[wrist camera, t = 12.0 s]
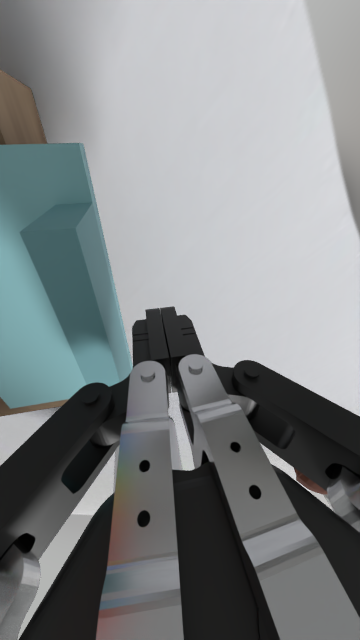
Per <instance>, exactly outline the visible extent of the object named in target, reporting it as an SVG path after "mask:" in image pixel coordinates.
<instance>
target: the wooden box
mask: <svg viewBox="0 0 360 640" xmlns="http://www.w3.org/2000/svg"><path fill="white" fill-rule="evenodd" d="M13 144H47V141H46V138H45V135H44V131H43V128H42V124H41V121H40V118H39V114H38V111H37V108H36V104H35V101H34V98H33V94H32V91H31V89H30V88H29V87H27V86H26V85H24V84H22V83H21V82H19V81H18V80H16V79H14V78H13V77H11V76H10V75H8V74H6V73H5V72H3V71H2V70H0V145H13ZM68 400H69V399H66V400H60V401H54V402H48V403H42V404H36V405H30V406H24V407H18V408H12V409H10V408H9V406H8V405H7V404H6V403H5V402H4V401H3V399H2V398H1V397H0V416H6V415H12V414H18V413H23V412H29V411H35V410H41V409H47V408H53V407H59V406H63V405H64V404H65V403H66V402H67V401H68Z"/></svg>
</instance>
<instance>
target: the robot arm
mask: <svg viewBox="0 0 360 640" xmlns="http://www.w3.org/2000/svg"><path fill="white" fill-rule="evenodd" d="M160 313H161V314H160ZM132 335H133V336H132V337H133V369H132V371H131V373H130V374H129V376H128V377H127V378H125V379H124V380H123V381H121V382H119V383H117V384H114V385H112V386H110V387H108V385H106V384H104V383H100V382H95V383H90V384H87V385H85V386H83V387H82V388H80V389H79V390H78V391H77V392H76V393H75V394H74V395H73V396H72V397H71V398H70V399H69V400H68V401H67V402H66V403H65V404H64V405H63V406H62V407H61V408H60V409H58V410H57V411H56V412H55V413H54V414H53V415H52V416H51V417H50V418H49V419H48V420H47V421H46V422H45V423H44V424H43V425H42V426H41V427H40V428H39V429H38V430H37V431H36V432H35V433H34V434H33V435H32V436H31V437H30V438H29V439H28V440H27V441H26V442H25V443H24V444H23V445H21V446H20V447H19V448H18V449H17V450H16V451H15V452H14V453H13V454H12V455H11V456H10V457H9V458H8V459H7V460H6V461H5V462H4V463H3V464H2V465H1V466H0V640H17V638H18V634H19V631H20V628H21V624H22V622H23V620H24V618H25V615H26V613H27V612H28V610H29V608H30V606H31V604H32V602H33V600H34V598H35V596H36V593H37V590H38V587H39V581H40V575H41V571H40V564H39V561H38V560H39V559H40V557H41V556H42V554H43V553H44V552H45V550H46V549H47V547H48V546H49V544H50V543H51V541H52V540H53V539H54V537H55V536H56V534H57V533H58V532H59V530H60V529H61V527H62V526H63V524H64V523H65V522H66V520H67V519H68V517H69V516H70V514H71V513H72V512H73V510H74V509H75V507H76V506H77V504H78V503H79V502H80V500H81V499H82V497H83V496H84V494H85V493H86V492H87V490H88V489H89V487H90V486H91V484H92V483H93V482H94V480H95V479H96V477H97V476H98V475H99V473H100V472H101V470H102V469H103V467H104V466H105V465H106V463H107V462H108V460H109V459H110V457H111V456H112V455H113V453H114V452H115V466H114V489H113V494H112V495H111V496H110V497H109V498H108V499H107V500H106V501H105V502H104V503H103V504H102V505H101V506H100V508H99V509H98V510H97V512H96V513H95V514H94V516H93V517H92V519H91V521H90V522H89V524H88V525H87V527H86V529H85V530H84V532H83V534H82V535H81V537H80V539H79V540H78V542H77V544H76V546H75V547H74V549H73V550H72V552H71V554H70V555H69V557H68V559H67V560H66V562H65V564H64V566H63V567H62V569H61V570H60V572H59V574H58V575H57V577H56V579H55V580H54V582H53V584H52V585H51V587H50V589H49V590H48V592H47V594H46V595H45V597H44V599H43V600H42V602H41V603H40V605H39V607H38V608H37V610H36V612H35V613H34V615H33V617H32V619H31V620H30V622H29V624H28V625H27V627H26V629H25V630H24V632H23V633H22V635H21V637H20V638H19V640H360V417H359V416H357V415H356V414H354V413H352V412H350V411H348V410H346V409H344V408H342V407H341V406H339V405H337V404H335V403H333V402H331V401H329V400H327V399H325V398H324V397H322V396H320V395H318V394H316V393H314V392H312V391H310V390H309V389H307V388H305V387H303V386H301V385H299V384H297V383H295V382H293V381H292V380H290V379H288V378H286V377H284V376H282V375H280V374H278V373H277V372H275V371H273V370H271V369H269V368H267V367H265V366H263V365H261V364H260V363H257V362H255V361H251V360H244V361H240V362H238V363H237V364H236V365H235V366H234V368H230V367H222V366H218V365H215V364H213V363H211V361H210V360H209V359H208V358H206V357H205V356H204V353H203V351H202V348H201V345H200V342H199V340H198V337H197V334H196V332H195V329H194V326H193V324H192V321H191V320H190V319H189V318H188V317H187V316H186V315H179V316H177V314H176V311H175V307H165V308H160V309H159V308H157V309H148V310H146V319H145V320H137V321H136V322H135V324H134V325H133V327H132ZM171 387H172V392H178V396H179V407H180V411H181V414H182V418H183V421H184V425H185V428H186V432H187V435H188V439H189V442H190V446H191V450H192V455H193V462H194V466H195V469H194V470H191V471H185V470H182V464H181V458H180V452H179V445H178V439H177V434H176V428H175V423H174V421H173V420H172V419H170V418H169V416H168V408H169V395H168V393H171ZM260 443H261V444H262V445H264V446H265V447H267V448H268V449H269V450H271V451H272V452H273V453H275V454H276V455H277V456H279V457H280V458H282V459H283V460H284V461H286V462H287V463H288V464H290V465H291V466H293V467H294V468H295V469H297V470H298V471H299V472H301V473H302V474H303V475H305V476H306V477H308V478H309V479H310V480H312V481H313V482H314V483H316V484H317V485H319V486H320V487H321V488H323V489H324V490H325V491H327V493H328V497H329V500H330V502H331V505H332V509H333V510H334V511H332V510H331V509H330V508H329V507H327V506H326V505H325V504H324V503H322V502H321V501H320V500H319V499H317V498H316V497H315V496H314V495H312V494H311V493H310V492H309V491H307V490H306V489H305V488H304V487H302V486H301V485H300V484H299V483H297V482H296V481H295V480H294V479H292V478H291V477H290V476H289V475H287V474H286V473H285V472H283V471H282V470H280V469H279V468H277V467H276V466H274V465H272V464H271V463H270V461H269V460H268V458H267V456H266V454H265V452H264V450H263V448H262V446H261V444H260Z"/></svg>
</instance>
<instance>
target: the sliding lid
mask: <svg viewBox="0 0 360 640" xmlns="http://www.w3.org/2000/svg"><path fill="white" fill-rule="evenodd" d="M132 369H133V366H132V361H131V357H130V352H129V348H128V343H127V339H126V334H125V330H124V325H123V321H122V316H121V312H120V307H119V303H118V298H117V294H116V289H115V285H114V280H113V276H112V271H111V267H110V262H109V258H108V253H107V249H106V244H105V240H104V235H103V231H102V226H101V222H100V217H99V213H98V208H97V204H96V199H95V195H94V190H93V186H92V181H91V177H90V172H89V168H88V163H87V159H86V154H85V150H84V145H83V144H82V143H59V144H13V145H0V397H1V398H2V399H3V401H4V402H5V403H6V404H7V405H8V406H9V408H10V409H12V408H18V407H24V406H30V405H36V404H42V403H48V402H54V401H60V400H66V399H70V398H71V397H72V396H73V395H74V394H75V393H76V392H77V391H78V390H79V389H80V388H82V387H83V386H85V385H87V384H90V383H95V382H100V383H104V384H106V385H108V387H110V386H112V385H114V384H117V383H119V382H121V381H123V380H124V379H125V378H127V377H128V376H129V374H130V373H131V371H132Z"/></svg>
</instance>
